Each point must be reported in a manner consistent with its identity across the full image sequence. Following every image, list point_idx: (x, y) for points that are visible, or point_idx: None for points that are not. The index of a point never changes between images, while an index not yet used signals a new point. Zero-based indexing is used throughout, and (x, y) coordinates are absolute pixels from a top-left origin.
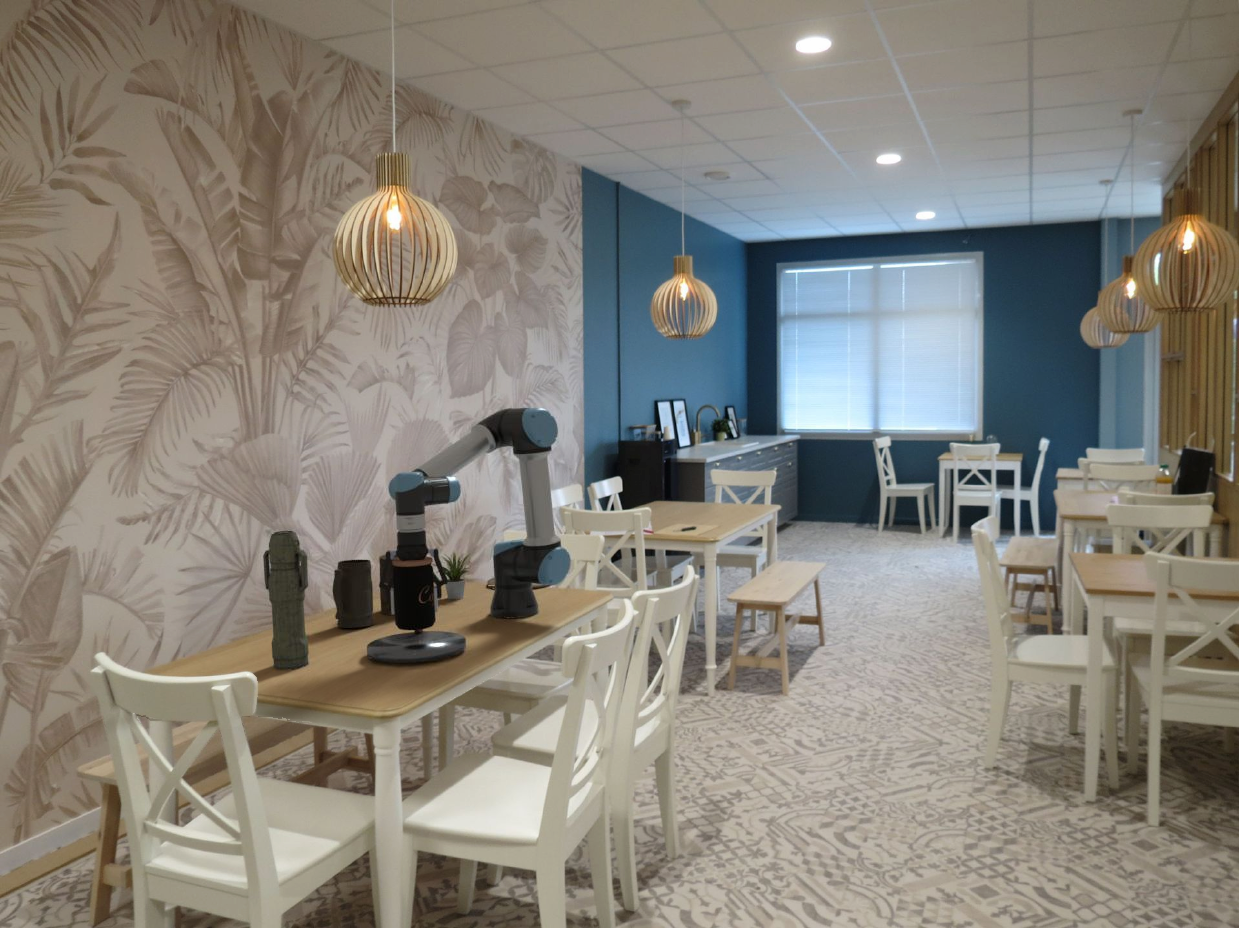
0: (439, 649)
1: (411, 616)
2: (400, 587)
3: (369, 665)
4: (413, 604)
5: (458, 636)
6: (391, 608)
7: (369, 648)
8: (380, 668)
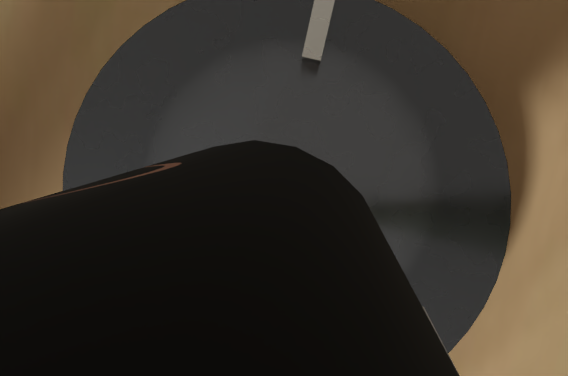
0: (195, 32)
1: (295, 156)
2: (442, 359)
3: (501, 119)
4: (260, 162)
5: None
6: (437, 334)
7: (498, 227)
8: (470, 41)
